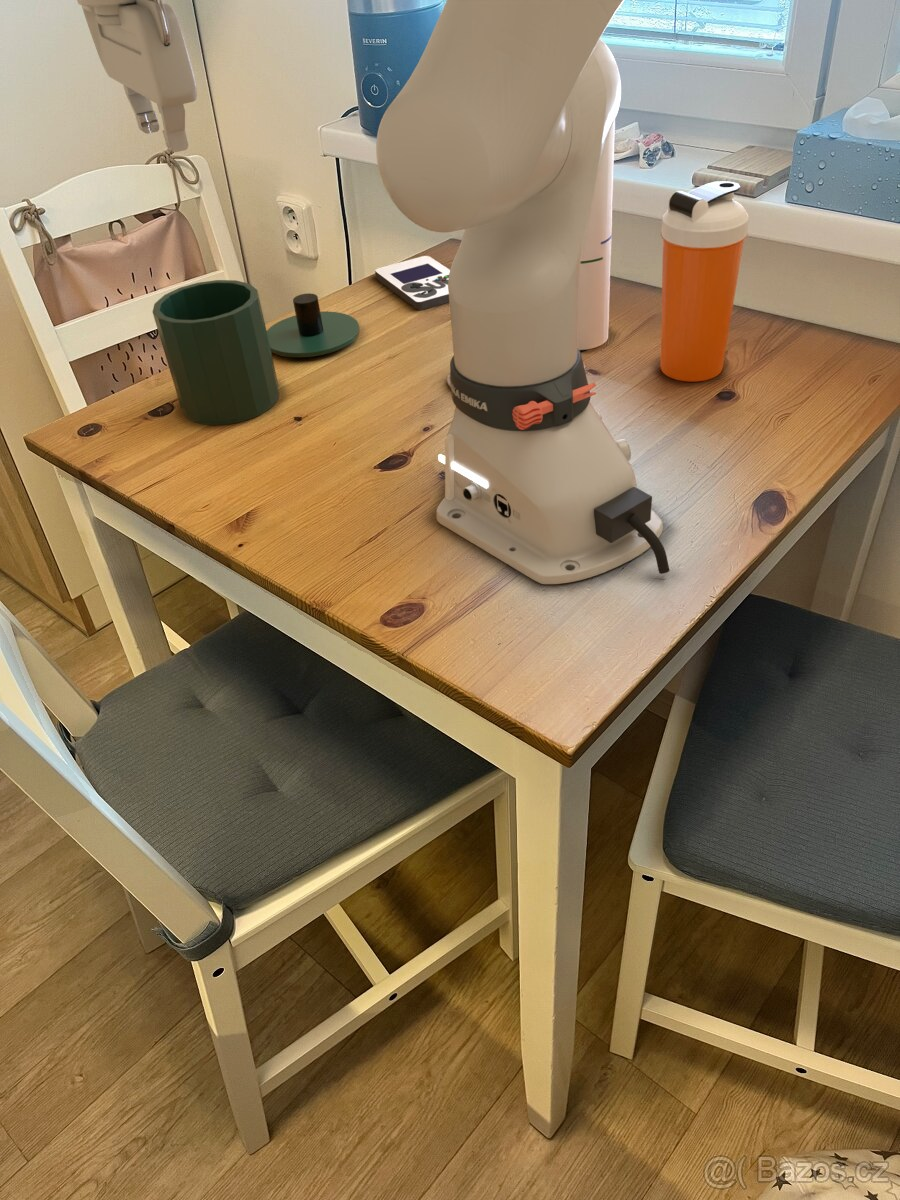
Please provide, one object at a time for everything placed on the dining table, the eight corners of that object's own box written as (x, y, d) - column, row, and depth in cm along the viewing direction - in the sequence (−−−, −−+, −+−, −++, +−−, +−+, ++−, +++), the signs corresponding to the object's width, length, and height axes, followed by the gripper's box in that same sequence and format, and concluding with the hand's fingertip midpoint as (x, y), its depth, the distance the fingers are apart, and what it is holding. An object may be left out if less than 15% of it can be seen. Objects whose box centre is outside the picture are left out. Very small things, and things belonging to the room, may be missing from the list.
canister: (294, 404, 111) (272, 302, 102) (201, 435, 107) (171, 332, 98) (258, 369, 118) (235, 271, 110) (170, 397, 114) (140, 298, 106)
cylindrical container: (619, 333, 118) (628, 116, 102) (586, 354, 114) (590, 133, 98) (573, 320, 122) (574, 109, 106) (539, 341, 118) (535, 125, 102)
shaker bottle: (747, 367, 108) (771, 187, 96) (694, 394, 105) (712, 210, 92) (688, 344, 114) (703, 171, 101) (636, 368, 110) (645, 192, 98)
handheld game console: (428, 262, 141) (427, 253, 140) (475, 294, 131) (474, 285, 130) (374, 277, 139) (373, 268, 138) (418, 311, 128) (417, 301, 127)
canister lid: (376, 342, 122) (370, 300, 118) (287, 371, 117) (278, 328, 114) (335, 311, 130) (328, 271, 127) (251, 337, 126) (241, 296, 122)
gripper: (191, -21, 79) (229, 154, 88) (125, -37, 93) (164, 116, 102) (117, -9, 77) (164, 169, 86) (61, -27, 91) (107, 128, 99)
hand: (163, 140), depth 94 cm, fingers open, 8 cm apart
